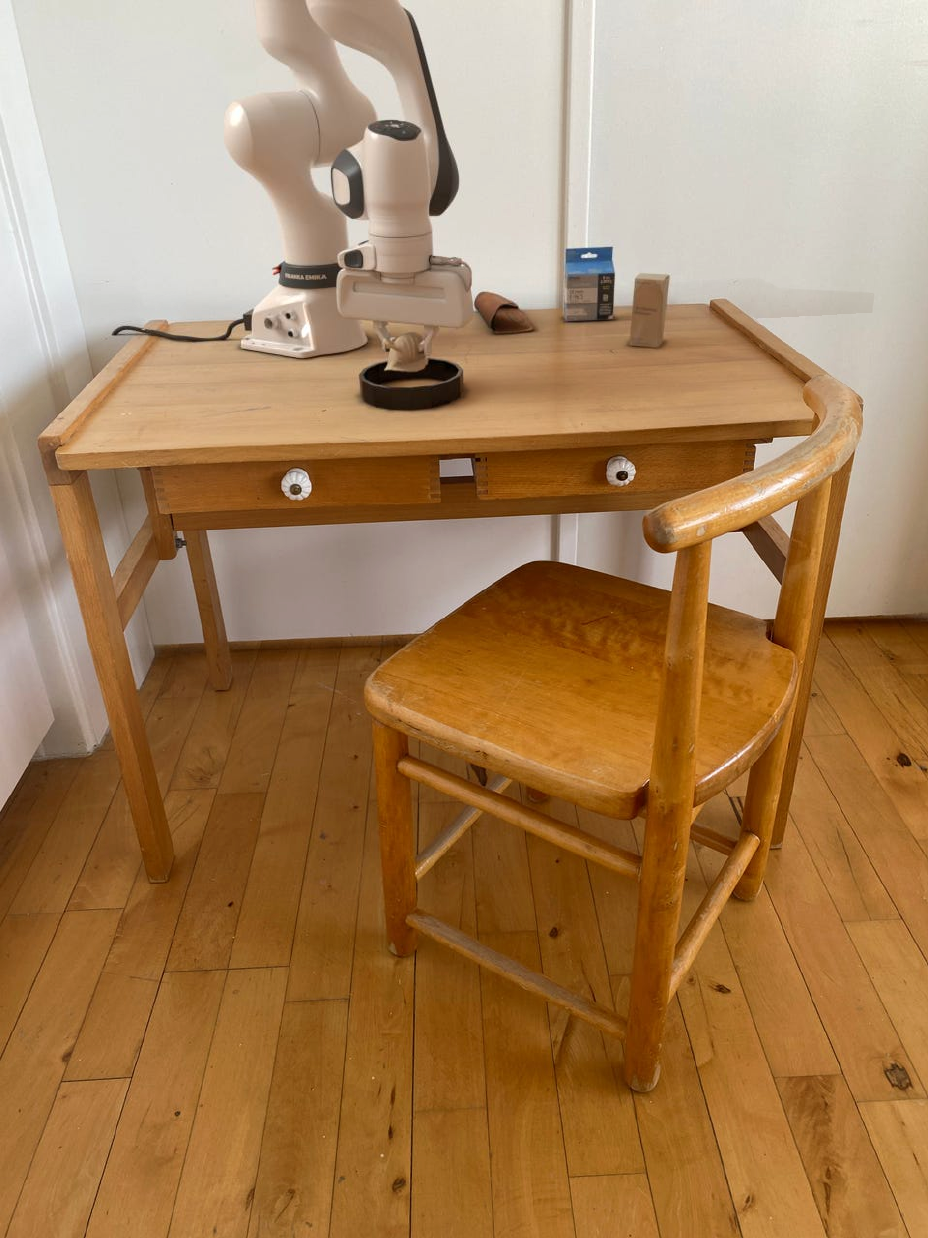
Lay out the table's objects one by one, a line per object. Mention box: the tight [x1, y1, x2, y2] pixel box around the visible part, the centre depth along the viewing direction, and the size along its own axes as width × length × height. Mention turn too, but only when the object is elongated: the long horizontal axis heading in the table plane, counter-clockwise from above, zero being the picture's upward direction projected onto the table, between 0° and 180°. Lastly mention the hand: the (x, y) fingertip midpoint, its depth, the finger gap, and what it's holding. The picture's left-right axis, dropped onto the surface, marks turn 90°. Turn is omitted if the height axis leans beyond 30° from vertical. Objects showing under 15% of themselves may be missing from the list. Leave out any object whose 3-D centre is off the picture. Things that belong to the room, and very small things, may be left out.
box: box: [628, 272, 671, 349], centre depth 154 cm, size 5×4×11 cm
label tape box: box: [563, 246, 616, 322], centre depth 169 cm, size 9×4×12 cm, turn 90°
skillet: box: [358, 352, 465, 411], centre depth 142 cm, size 26×15×3 cm, turn 14°
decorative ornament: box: [383, 331, 428, 372], centre depth 135 cm, size 4×8×5 cm, turn 131°
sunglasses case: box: [473, 291, 534, 335], centre depth 172 cm, size 18×7×7 cm
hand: (407, 352), depth 136 cm, fingers closed on decorative ornament, 4 cm apart
